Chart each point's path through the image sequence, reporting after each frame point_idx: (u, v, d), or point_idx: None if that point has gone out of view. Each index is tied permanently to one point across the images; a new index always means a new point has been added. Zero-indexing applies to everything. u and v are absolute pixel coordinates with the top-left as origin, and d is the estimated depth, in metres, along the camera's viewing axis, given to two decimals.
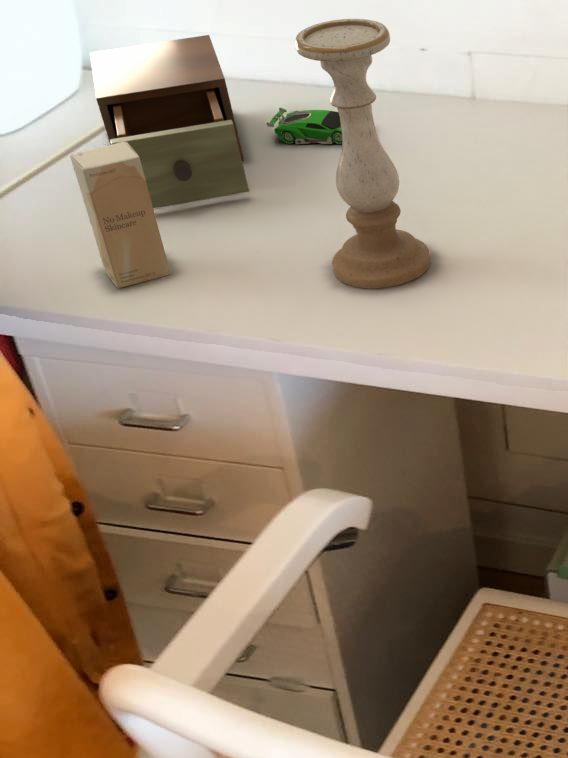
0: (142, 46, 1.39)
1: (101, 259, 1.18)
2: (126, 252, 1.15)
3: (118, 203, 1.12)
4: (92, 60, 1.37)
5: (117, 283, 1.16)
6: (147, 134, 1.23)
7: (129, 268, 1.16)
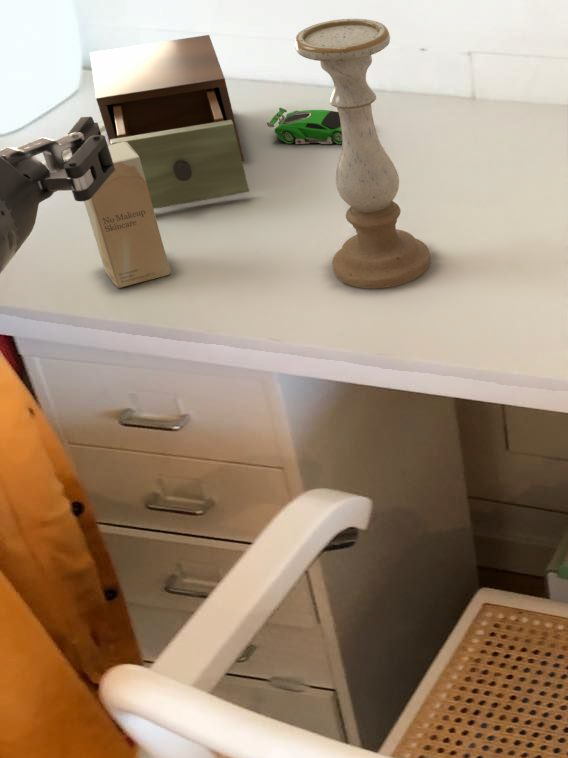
0: (142, 46, 1.39)
1: (101, 259, 1.18)
2: (126, 252, 1.15)
3: (118, 203, 1.12)
4: (92, 60, 1.37)
5: (117, 283, 1.16)
6: (147, 134, 1.23)
7: (129, 268, 1.16)
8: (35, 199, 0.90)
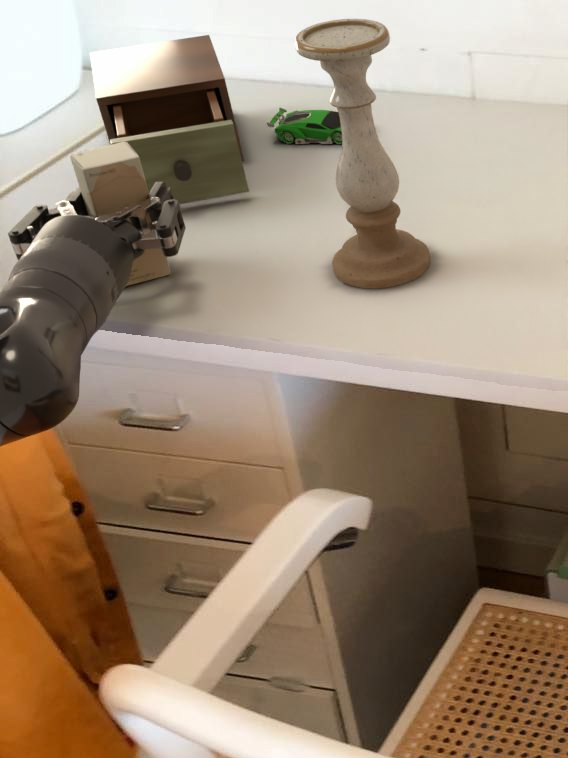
0: (142, 46, 1.39)
1: None
2: None
3: (118, 203, 1.12)
4: (92, 60, 1.37)
5: None
6: (147, 134, 1.23)
7: None
8: (130, 258, 1.07)
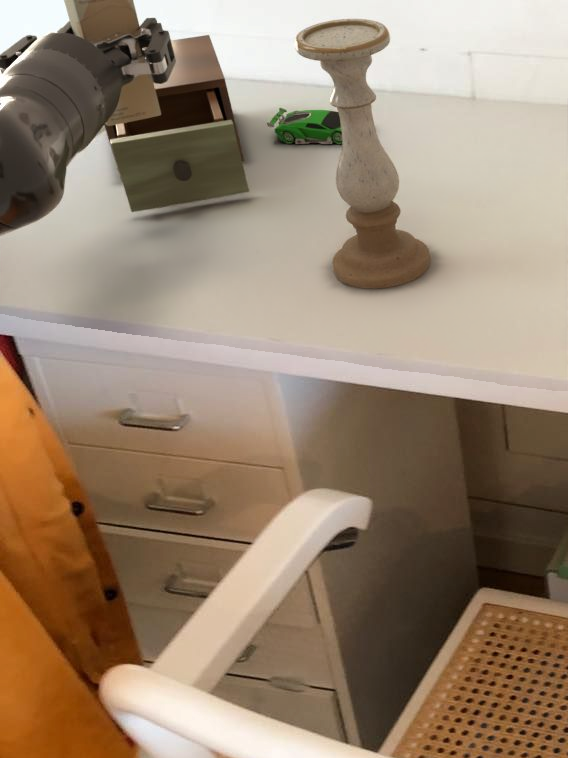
0: None
1: None
2: None
3: (108, 34, 1.11)
4: None
5: (107, 121, 1.15)
6: (147, 134, 1.23)
7: (119, 105, 1.15)
8: (119, 82, 1.06)
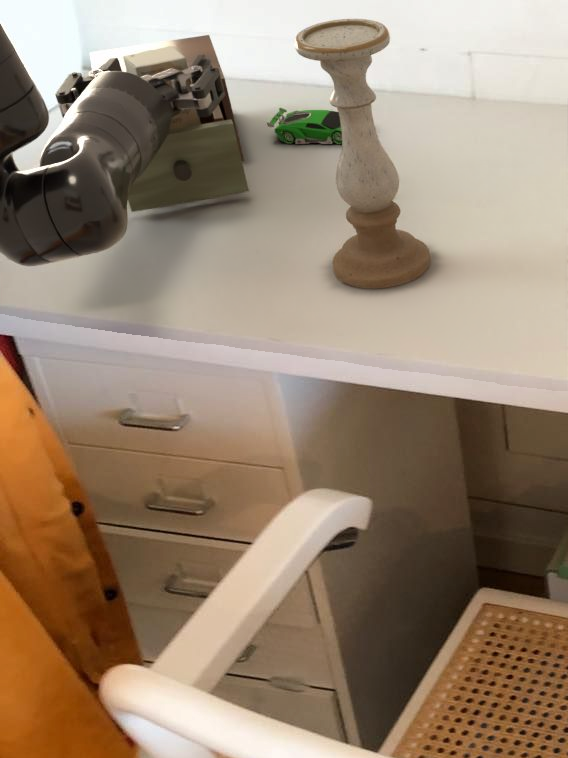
0: (142, 46, 1.39)
1: None
2: None
3: None
4: (92, 60, 1.37)
5: None
6: None
7: None
8: (169, 114, 1.18)
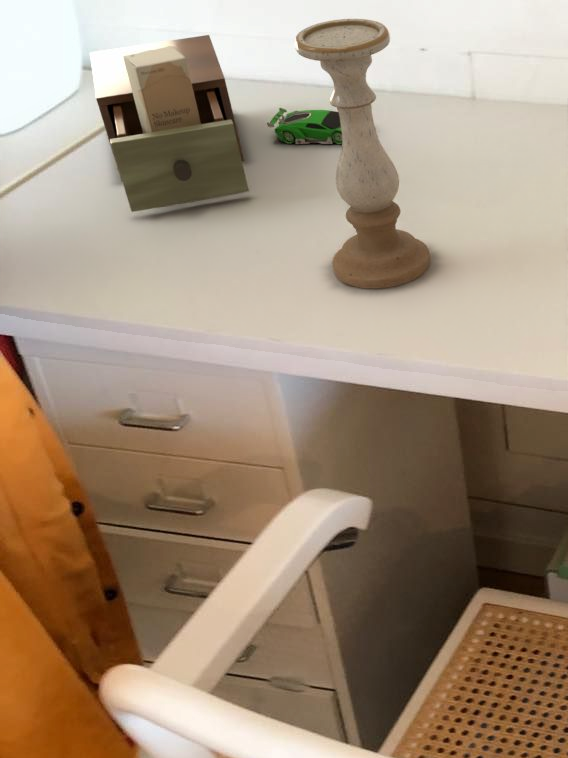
0: (142, 46, 1.39)
1: None
2: None
3: (166, 100, 1.25)
4: (92, 60, 1.37)
5: None
6: (147, 134, 1.23)
7: None
8: None
